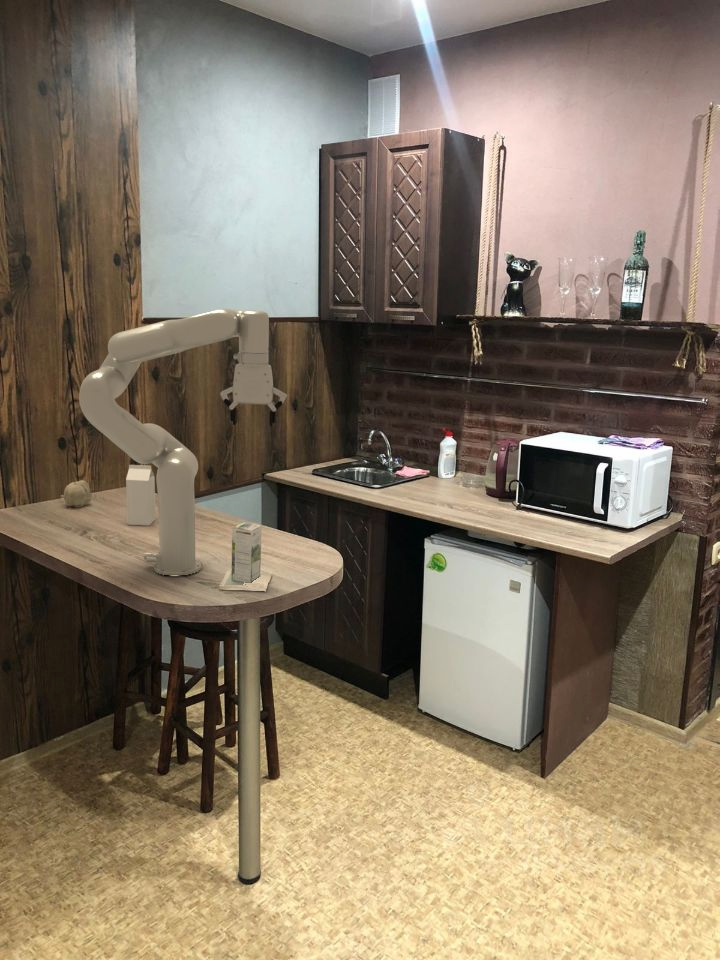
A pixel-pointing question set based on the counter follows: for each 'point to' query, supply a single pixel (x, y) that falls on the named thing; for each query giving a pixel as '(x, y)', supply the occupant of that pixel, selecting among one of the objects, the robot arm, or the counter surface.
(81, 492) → the beige lumpy ball
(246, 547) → the syrup box
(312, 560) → the counter surface
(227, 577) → the plate
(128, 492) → the milk carton
